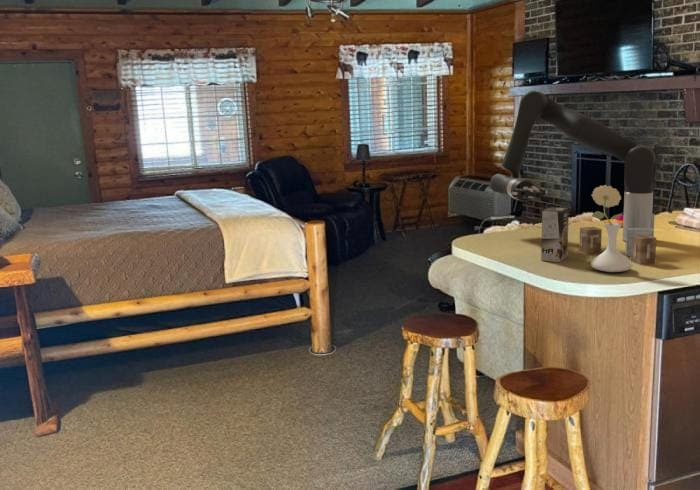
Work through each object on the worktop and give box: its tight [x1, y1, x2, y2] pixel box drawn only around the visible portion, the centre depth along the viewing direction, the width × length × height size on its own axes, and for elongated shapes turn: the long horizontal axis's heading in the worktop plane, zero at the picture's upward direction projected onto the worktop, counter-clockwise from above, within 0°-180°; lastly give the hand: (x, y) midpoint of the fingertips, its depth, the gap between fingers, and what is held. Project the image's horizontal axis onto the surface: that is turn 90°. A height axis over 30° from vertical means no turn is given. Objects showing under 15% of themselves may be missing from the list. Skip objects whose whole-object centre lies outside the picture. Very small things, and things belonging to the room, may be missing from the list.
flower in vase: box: [590, 184, 633, 273], centre depth 195 cm, size 13×11×25 cm
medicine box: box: [625, 228, 655, 257], centre depth 214 cm, size 8×4×9 cm, turn 71°
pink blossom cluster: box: [603, 214, 624, 228], centre depth 267 cm, size 8×8×4 cm
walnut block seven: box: [578, 226, 603, 255], centre depth 221 cm, size 5×5×8 cm
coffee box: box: [540, 206, 570, 263], centre depth 213 cm, size 9×6×16 cm
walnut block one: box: [630, 235, 657, 266], centre depth 204 cm, size 5×5×8 cm
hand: (540, 195), depth 222 cm, fingers closed
